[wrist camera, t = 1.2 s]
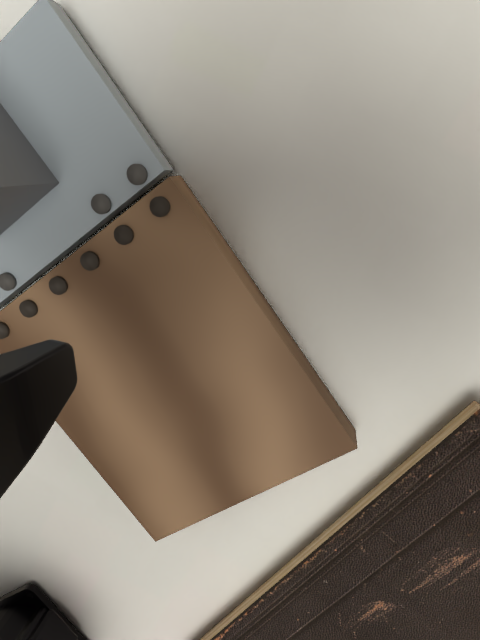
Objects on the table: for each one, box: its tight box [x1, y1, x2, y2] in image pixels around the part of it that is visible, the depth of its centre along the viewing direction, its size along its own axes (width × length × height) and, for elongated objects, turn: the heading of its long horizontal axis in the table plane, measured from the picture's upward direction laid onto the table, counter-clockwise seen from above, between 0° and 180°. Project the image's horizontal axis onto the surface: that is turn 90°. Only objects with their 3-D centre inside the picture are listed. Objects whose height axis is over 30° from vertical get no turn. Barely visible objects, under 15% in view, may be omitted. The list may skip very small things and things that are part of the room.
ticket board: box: [0, 176, 357, 542], centre depth 22 cm, size 12×14×2 cm
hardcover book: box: [199, 400, 480, 640], centre depth 24 cm, size 16×23×2 cm
